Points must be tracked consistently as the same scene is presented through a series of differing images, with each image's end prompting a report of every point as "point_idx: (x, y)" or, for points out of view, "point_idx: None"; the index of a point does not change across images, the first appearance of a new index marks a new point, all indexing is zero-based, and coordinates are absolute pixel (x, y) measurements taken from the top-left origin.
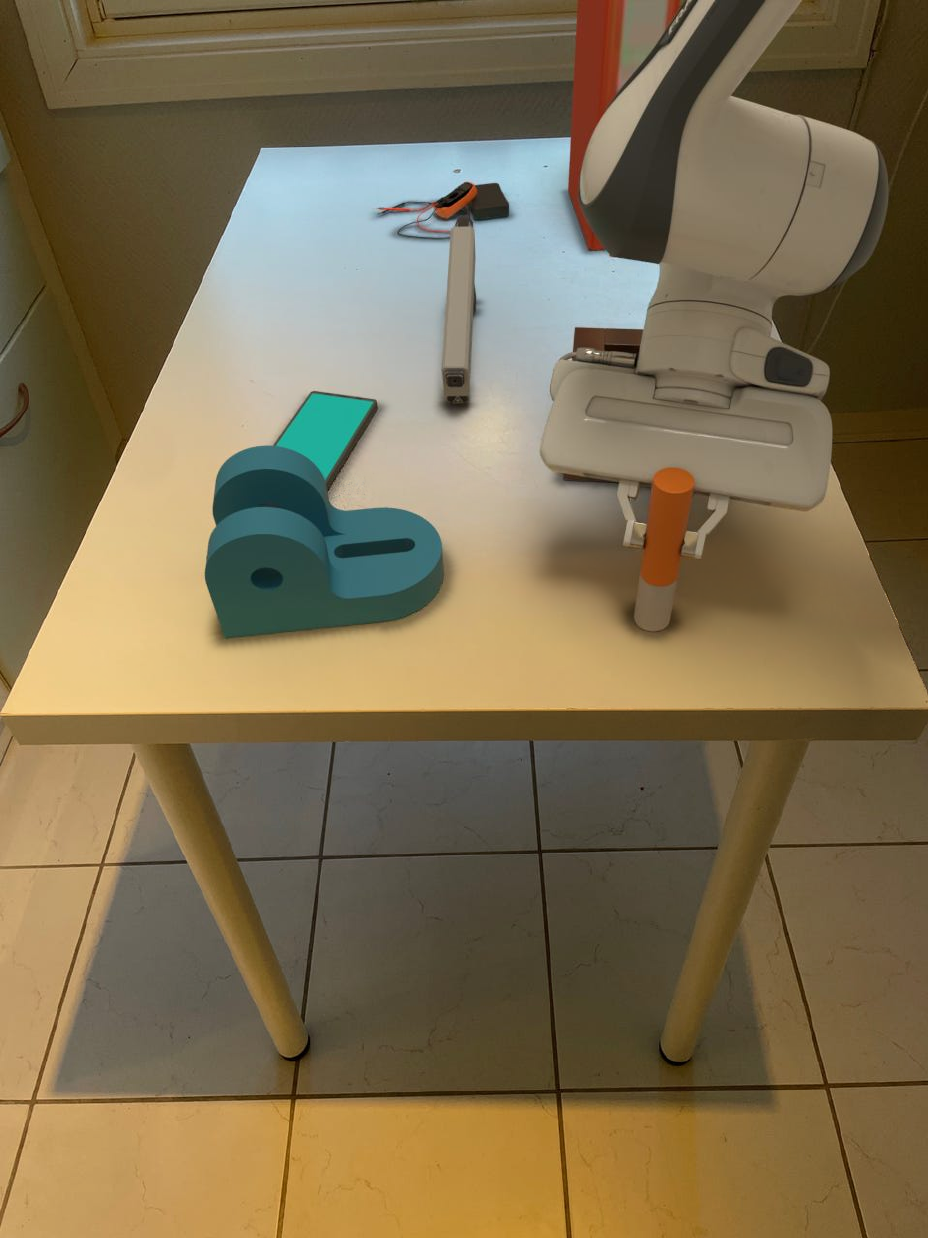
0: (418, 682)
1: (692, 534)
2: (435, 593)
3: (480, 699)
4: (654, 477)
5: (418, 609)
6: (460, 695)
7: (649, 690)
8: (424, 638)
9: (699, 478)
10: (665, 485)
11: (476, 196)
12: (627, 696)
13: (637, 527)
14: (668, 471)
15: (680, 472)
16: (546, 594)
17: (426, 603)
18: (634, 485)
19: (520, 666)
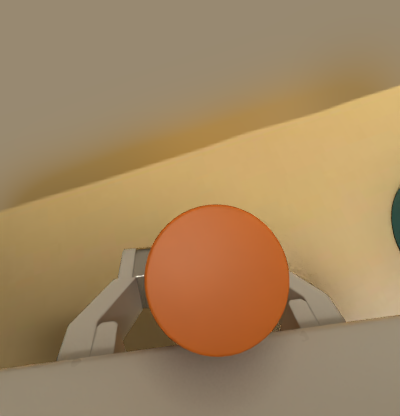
0: (349, 125)
1: (144, 271)
2: (393, 221)
3: (297, 124)
4: (284, 264)
5: (395, 198)
6: (313, 123)
7: (165, 176)
8: (371, 169)
9: (144, 377)
10: (238, 235)
11: None
12: (182, 163)
13: None
14: (250, 318)
15: (207, 326)
16: (298, 262)
17: (393, 206)
18: (307, 322)
19: (282, 166)
